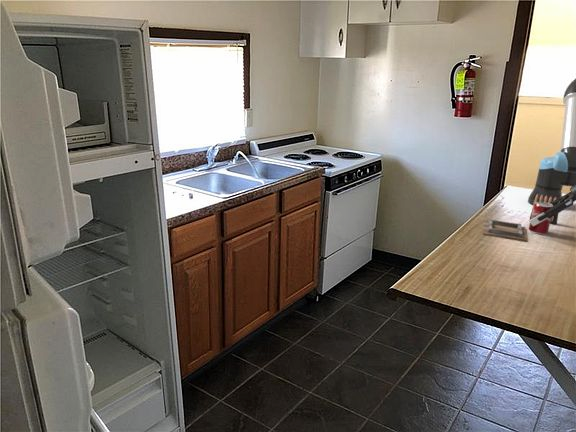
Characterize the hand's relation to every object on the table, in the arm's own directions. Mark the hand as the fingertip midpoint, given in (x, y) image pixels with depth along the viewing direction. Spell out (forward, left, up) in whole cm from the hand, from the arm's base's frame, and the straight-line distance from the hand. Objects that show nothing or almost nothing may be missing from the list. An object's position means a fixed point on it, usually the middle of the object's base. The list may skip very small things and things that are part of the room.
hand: (532, 219), depth 198 cm
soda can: (0, +3, -5) cm, 6 cm away
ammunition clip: (-15, +6, -5) cm, 16 cm away
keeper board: (+7, -10, -5) cm, 14 cm away
